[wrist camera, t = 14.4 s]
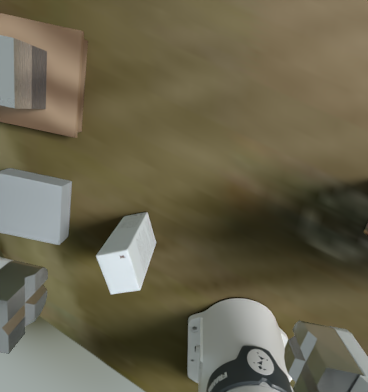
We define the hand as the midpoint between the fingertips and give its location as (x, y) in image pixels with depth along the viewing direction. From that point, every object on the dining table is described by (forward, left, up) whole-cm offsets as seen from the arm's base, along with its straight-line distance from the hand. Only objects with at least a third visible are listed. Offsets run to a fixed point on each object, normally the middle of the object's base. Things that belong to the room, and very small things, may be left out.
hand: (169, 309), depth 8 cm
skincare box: (-14, +6, -31) cm, 35 cm away
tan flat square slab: (+6, +23, -31) cm, 39 cm away
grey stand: (-13, +23, -31) cm, 41 cm away
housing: (+6, +23, -28) cm, 37 cm away
